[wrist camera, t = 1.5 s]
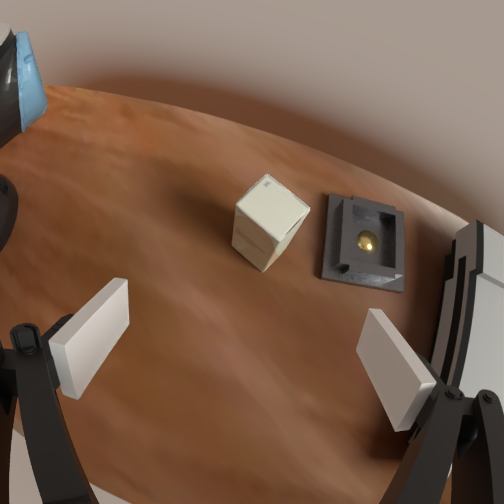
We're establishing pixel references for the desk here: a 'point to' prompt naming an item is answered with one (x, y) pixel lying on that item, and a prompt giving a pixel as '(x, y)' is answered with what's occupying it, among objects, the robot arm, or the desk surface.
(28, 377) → the robot arm
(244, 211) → the box
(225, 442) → the desk surface
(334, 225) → the collar
